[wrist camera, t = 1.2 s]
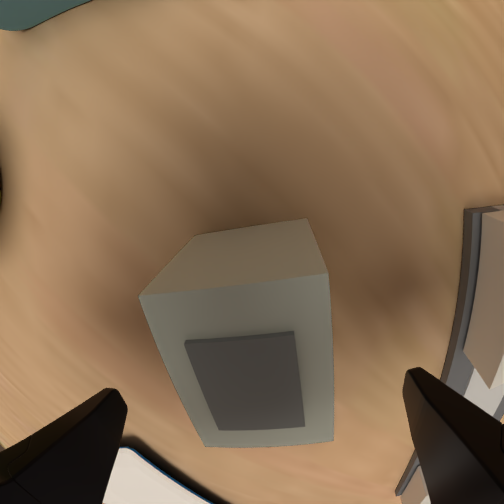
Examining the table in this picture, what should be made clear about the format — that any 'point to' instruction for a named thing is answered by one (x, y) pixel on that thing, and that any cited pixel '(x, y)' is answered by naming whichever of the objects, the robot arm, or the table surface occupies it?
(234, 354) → the block
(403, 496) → the mounted module
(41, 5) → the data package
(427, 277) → the table surface
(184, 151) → the table surface
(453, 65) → the table surface
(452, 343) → the rail plate
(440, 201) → the table surface
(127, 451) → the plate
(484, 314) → the mounted module
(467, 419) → the robot arm
